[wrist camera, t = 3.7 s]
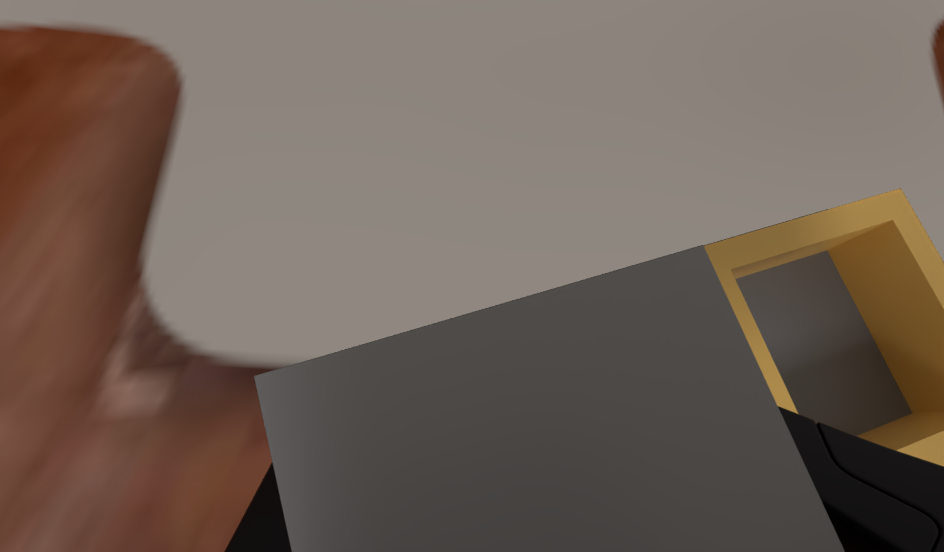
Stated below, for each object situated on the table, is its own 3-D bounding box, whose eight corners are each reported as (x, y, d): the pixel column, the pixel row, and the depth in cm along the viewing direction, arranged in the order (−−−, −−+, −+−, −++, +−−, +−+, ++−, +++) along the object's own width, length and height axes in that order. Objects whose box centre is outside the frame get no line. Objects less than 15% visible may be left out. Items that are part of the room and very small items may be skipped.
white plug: (495, 386, 15) (702, 245, 5) (540, 524, 14) (932, 741, 4) (363, 428, 14) (253, 376, 4) (402, 577, 13) (396, 1046, 3)
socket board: (815, 216, 19) (892, 173, 16) (937, 447, 17) (1051, 447, 14) (286, 372, 15) (257, 354, 12) (360, 692, 13) (348, 763, 10)
